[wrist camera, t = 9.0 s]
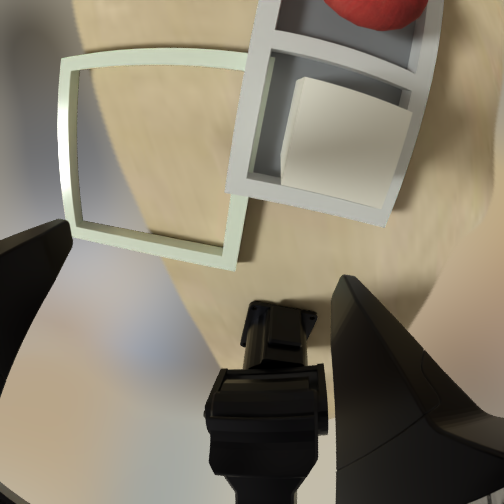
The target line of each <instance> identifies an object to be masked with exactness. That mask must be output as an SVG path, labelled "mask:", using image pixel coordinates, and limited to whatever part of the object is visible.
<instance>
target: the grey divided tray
mask: <svg viewBox="0 0 504 504" xmlns="http://www.w3.org/2000/svg"><path fill="white" fill-rule="evenodd" d="M443 7H444V0H428V3H427V6H426V7H425V9H424V11H423V13H422V14H421V16H420V17H419V18H418V19H416V20H415V21H413V22H412V23H410V24H408V25H407V26H405V27H404V28H402V29H396V30H388V31H376V30H372V29H368V28H364V27H360V26H357V25H355V24H353V23H351V22H350V21H348V20H346V19H344V18H342V17H341V16H339V15H338V14H337V13H336V12H335V11H334V10H333V9H332V8H330V7H329V6H328V5H327V4H326V3H325V2H324V0H259V2H258V7H257V11H256V16H255V21H254V26H253V30H252V35H251V40H250V45H249V50H248V55H247V61H246V66H245V71H244V76H243V82H242V87H241V93H240V99H239V104H238V110H237V116H236V122H235V128H234V134H233V140H232V146H231V153H230V159H229V166H228V172H227V179H226V186H225V193H229V194H234V195H240V196H245V197H250V198H256V199H261V200H266V201H271V202H276V203H281V204H285V205H290V206H295V207H299V208H304V209H309V210H313V211H318V212H322V213H326V214H331V215H335V216H339V217H343V218H347V219H351V220H356V221H360V222H364V223H368V224H371V225H375V226H379V227H383V228H385V226H386V223H387V221H388V219H389V216H390V214H391V211H392V209H393V206H394V203H395V201H396V198H397V196H398V193H399V190H400V188H401V185H402V182H403V179H404V176H405V173H406V171H407V168H408V165H409V162H410V159H411V156H412V152H413V149H414V146H415V143H416V140H417V136H418V133H419V129H420V126H421V122H422V119H423V115H424V111H425V107H426V104H427V100H428V95H429V91H430V87H431V82H432V78H433V73H434V68H435V63H436V57H437V52H438V46H439V39H440V33H441V25H442V17H443ZM270 57H275V63H274V67H273V72H272V77H271V82H270V87H269V93H268V98H267V103H266V108H265V113H264V118H263V123H262V128H261V134H260V139H259V144H258V149H257V155H256V160H255V165H254V171H253V173H249V166H250V161H251V155H252V150H253V144H254V139H255V134H256V128H257V123H258V118H259V112H260V107H261V102H262V97H263V92H264V86H265V81H266V76H267V71H268V66H269V61H270ZM303 77H308V78H313V79H316V80H320V81H324V82H328V83H331V84H335V85H338V86H342V87H345V88H348V89H351V90H355V91H358V92H361V93H364V94H367V95H369V96H372V97H375V98H378V99H381V100H383V101H386V102H388V103H391V104H394V105H396V106H398V107H401V108H403V109H406V110H408V111H410V112H413V113H412V117H411V121H410V124H409V128H408V131H407V135H406V138H405V141H404V145H403V148H402V151H401V154H400V157H399V160H398V164H397V167H396V170H395V173H394V175H393V178H392V181H391V184H390V187H389V190H388V192H387V195H386V198H385V201H384V203H383V206H382V209H378V208H374V207H370V206H367V205H363V204H359V203H356V202H352V201H348V200H344V199H340V198H336V197H332V196H328V195H324V194H319V193H315V192H311V191H307V190H302V189H298V188H293V187H288V186H284V185H281V156H280V154H281V149H282V145H283V140H284V135H285V131H286V126H287V122H288V117H289V112H290V108H291V103H292V98H293V94H294V89H295V84H296V80H298V79H301V78H303Z"/></svg>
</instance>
